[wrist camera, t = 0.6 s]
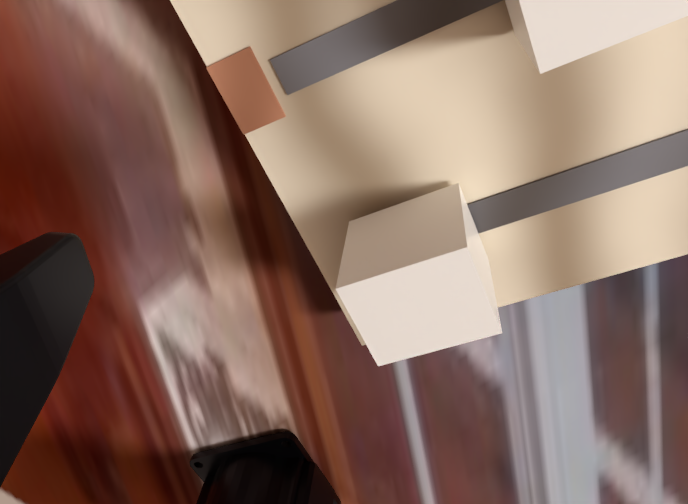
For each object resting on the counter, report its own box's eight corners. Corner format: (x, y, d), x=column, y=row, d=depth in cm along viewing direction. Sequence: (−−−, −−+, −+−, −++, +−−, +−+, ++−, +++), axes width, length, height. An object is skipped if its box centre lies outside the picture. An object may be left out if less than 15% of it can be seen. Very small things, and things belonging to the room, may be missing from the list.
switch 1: (384, 291, 22) (378, 366, 19) (349, 221, 21) (335, 288, 17) (488, 258, 21) (502, 333, 18) (458, 182, 20) (467, 246, 16)
